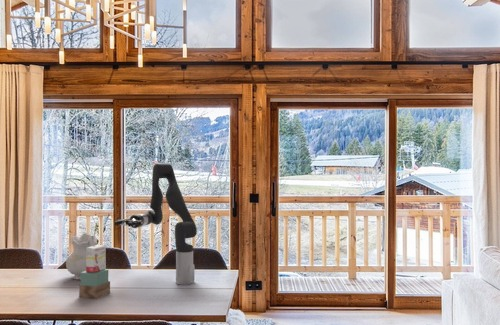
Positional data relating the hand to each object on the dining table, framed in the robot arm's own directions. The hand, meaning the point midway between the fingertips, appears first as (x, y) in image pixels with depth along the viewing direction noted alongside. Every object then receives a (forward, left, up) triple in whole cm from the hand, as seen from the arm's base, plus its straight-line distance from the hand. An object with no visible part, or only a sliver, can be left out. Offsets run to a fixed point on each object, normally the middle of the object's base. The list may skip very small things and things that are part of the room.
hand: (121, 224), depth 213 cm
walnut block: (0, +21, -32) cm, 39 cm away
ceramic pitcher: (+26, -3, -32) cm, 42 cm away
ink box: (0, +21, -20) cm, 29 cm away
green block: (0, +22, -26) cm, 34 cm away
